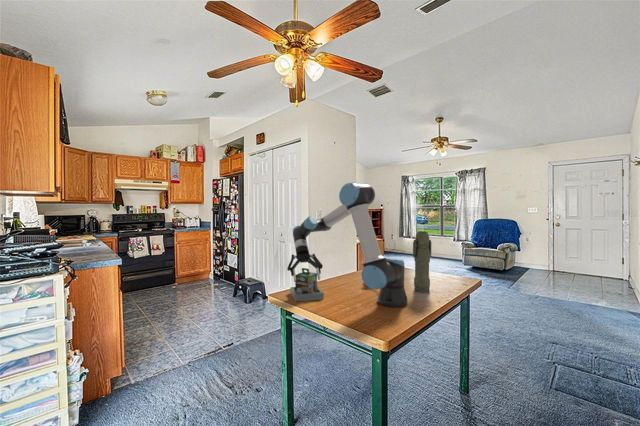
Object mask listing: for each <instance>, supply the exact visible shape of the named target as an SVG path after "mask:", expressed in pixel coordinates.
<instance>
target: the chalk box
mask: <svg viewBox="0 0 640 426" xmlns="http://www.w3.org/2000/svg"><path fill="white" fill-rule="evenodd" d="M295 275H296V282H294V284H295V286H294V287H295V292H296V293H297V294H307V293H317V286H318V277H317V272H310V269H309V268H305V267H302V268H301V272H298V273H297V274H296V273H295Z"/></svg>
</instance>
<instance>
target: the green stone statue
mask: <svg viewBox="0 0 640 426" xmlns="http://www.w3.org/2000/svg"><path fill="white" fill-rule="evenodd" d="M431 256H432V240H431V239H430V236H429V233H428V232H427V231H424V230H423V231H422V230H419V231H417V232H416V233H415V239H413V241H412V257H413V260H414V277H413V287H414V291H415V292H417V293H418V292H419V293H429V292H430V287H431V280H430V262H431Z"/></svg>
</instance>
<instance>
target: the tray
mask: <svg viewBox="0 0 640 426" xmlns="http://www.w3.org/2000/svg"><path fill="white" fill-rule="evenodd" d="M290 295H291V296H292V299H293V300H294V302H296V303H297V302H308V301H321V300H324V298H325V297H324V295H325V294H324V291H322V290H321V288H320V287H319V286H318V285H317V293H307V294H297V293H296V292H295V286H290Z"/></svg>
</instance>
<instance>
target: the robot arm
mask: <svg viewBox="0 0 640 426" xmlns="http://www.w3.org/2000/svg"><path fill="white" fill-rule="evenodd" d="M338 197H339V201H340V203H341V205H340V206H338V207H337V208H335V209H334V210H332V211H331V212H329V213H327V214H326V215H324V216H323V217H322V218H319V219H317V218H316V217H314V216H307V217H306V218H305V219H304V220H303V222H302V223H301V224H300V225H296V226H294V227H293V228H292V236H293V242H294V248H295V254H296V255H294V254H291V258H290V261H289V263H288V265H287V271H288V272H289V271H290V275H291V277H293V282H294V283H295V282H296V267H297V266H298V265H299V264H300V263H302V264H303V263H308V264H310V265H311V266H312V267H313V268H315V269H316V270H315V273H317V281H320V280H321V273H322V271H321V270H322V269H323V264H322V262H320V260H319V259H318V258H317V256H316V253H312V254H310V252H309V251H310V250H309V248H308V241H307V237H308V236H309V235H310V234H311V233H315V232H316V233H317V232H327V231H330V230H331V229H332V227H333V226H335V225H336V224H337V223H340V222H341V221H342V220H345V218H347V217H349V216H350V215H351V217H352V220H353V225H354V228H355V231H356V234H357V239H358V241H359V245H360V248H361V252H362V255H363V259H364V260H363V262H362V267H363V269H362V270H361V273H360V275H361V276H360V277H361V280H362V282H363V284H365V286H366V287H367V288H369V289H370V290H379V293H378V295H377V302H378V304H380V305H383V306H386V307H390V308H391V307H392V308H402V307H405V306H408V300H409V299H408V296H407V293H406V290H405V267H406V266H405V261H404V260H403V259H402V258H394V257H385V256H384V255H383V254H382V252H381V249H380V246H379V242H378V239H377V235H376V232H375V228H374V226H373V222H372V220H371V219H372V218H371V215H370V213H369V207H370V205H371V204H372V203H374V200H375V198H376V192H375V189H374V188H373V186H371V185H370V184H368V183H358V182H348V183H345V184H344V185H343V186H342V187H341V188H340V190H339V195H338ZM294 260H296V261H295V262H294ZM293 263H294V264H293Z"/></svg>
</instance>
